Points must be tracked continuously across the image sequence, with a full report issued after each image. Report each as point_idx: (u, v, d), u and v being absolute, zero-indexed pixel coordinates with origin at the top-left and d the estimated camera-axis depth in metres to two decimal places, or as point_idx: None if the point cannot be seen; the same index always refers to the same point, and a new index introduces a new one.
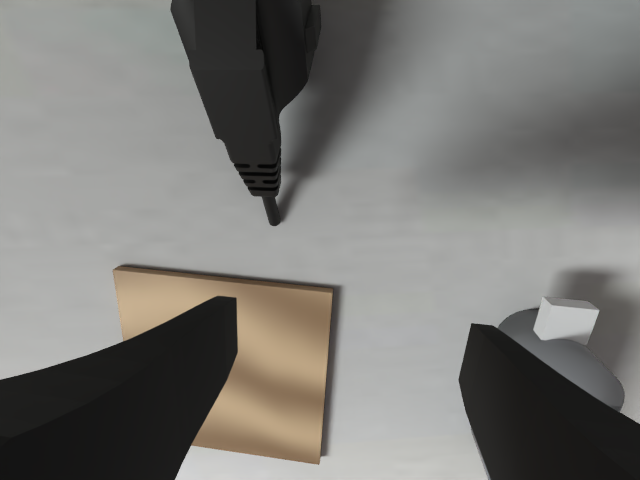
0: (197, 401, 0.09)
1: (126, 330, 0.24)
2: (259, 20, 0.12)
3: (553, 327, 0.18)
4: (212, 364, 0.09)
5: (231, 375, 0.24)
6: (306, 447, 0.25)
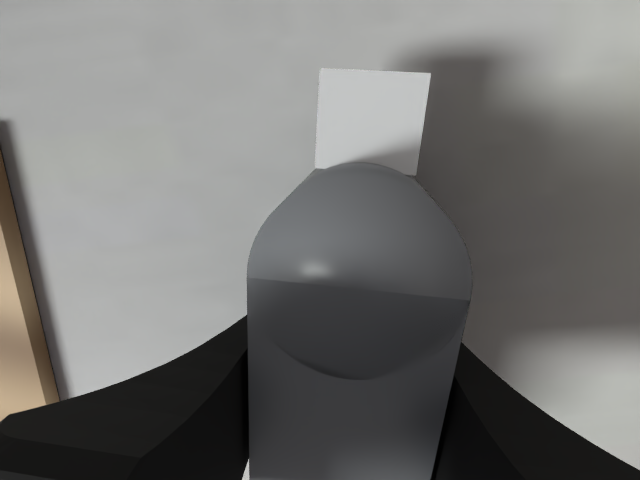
0: None
1: None
2: None
3: (335, 132, 0.07)
4: None
5: None
6: None
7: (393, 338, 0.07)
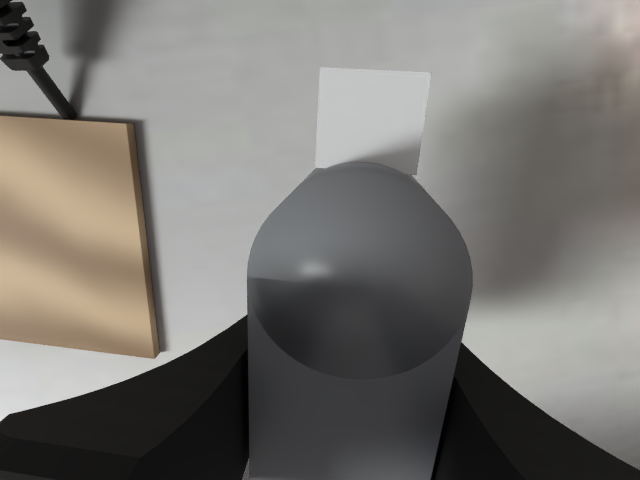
0: None
1: None
2: None
3: (335, 131, 0.07)
4: None
5: (37, 245, 0.20)
6: (136, 336, 0.22)
7: (393, 337, 0.07)
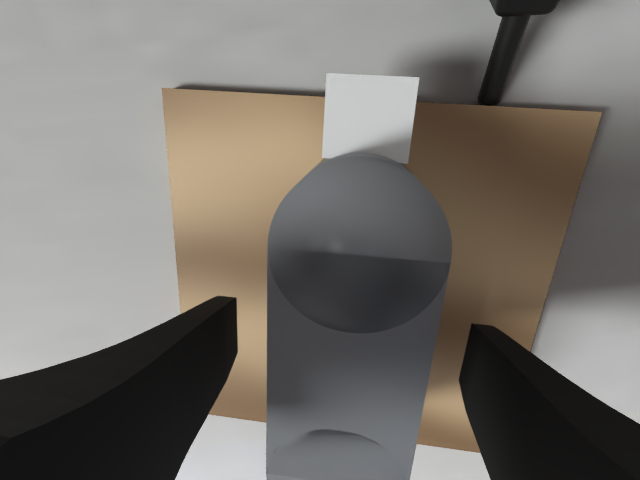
0: (197, 401, 0.09)
1: (181, 215, 0.13)
2: None
3: (339, 127, 0.09)
4: (212, 364, 0.09)
5: None
6: None
7: (387, 296, 0.08)
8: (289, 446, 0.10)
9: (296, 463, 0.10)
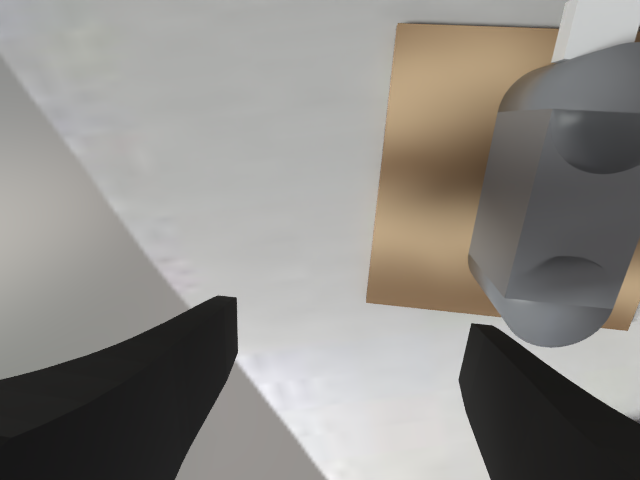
0: (197, 401, 0.09)
1: (393, 128, 0.17)
2: None
3: (581, 34, 0.12)
4: (212, 364, 0.09)
5: None
6: (617, 304, 0.18)
7: (633, 143, 0.12)
8: (528, 273, 0.13)
9: (531, 287, 0.14)
